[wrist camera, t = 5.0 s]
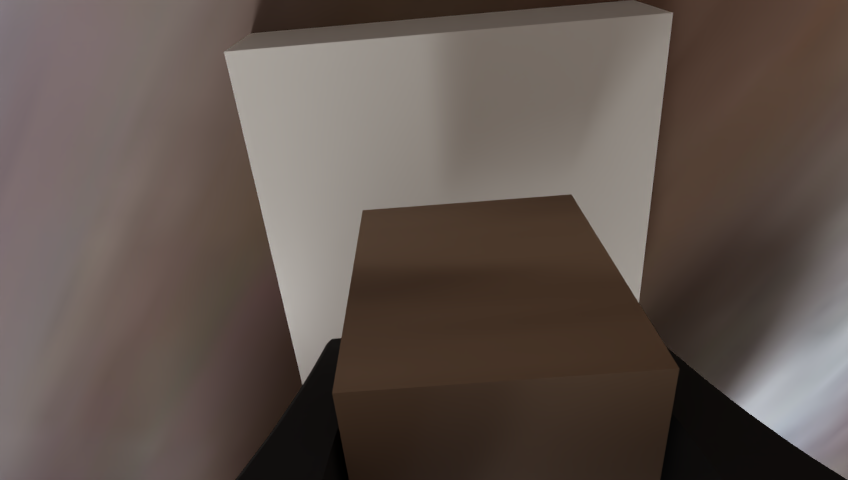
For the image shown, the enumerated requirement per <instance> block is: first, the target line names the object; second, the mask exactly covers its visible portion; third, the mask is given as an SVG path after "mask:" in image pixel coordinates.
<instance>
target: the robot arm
mask: <svg viewBox="0 0 848 480" xmlns="http://www.w3.org/2000/svg"><path fill="white" fill-rule="evenodd" d="M340 343H341V338H336V339H331V340H330V341H329V342H328V343H327V344H326V346H325V348H324V350H323V351H322V353H321V355H320V357H319V358H318V360H317V362H316V364H315V365H314V367H313V369H312V370H311V372H310V374H309V375H308V377H307V379H306V380H305V382H304V384H303V385H302V387H301V388H300V390H299V392H298V393H297V395H296V396H295V398H294V399H293V401H292V402H291V404H290V405H289V407H288V408H287V410H286V411H285V413H284V414H283V416H282V417H281V419H280V420H279V422H278V423H277V425H276V426H275V428H274V429H273V431H272V432H271V433H270V435H269V436H268V438H267V439H266V440H265V442H264V443H263V444H262V445H261V447H260V448H259V449H258V451H257V452H256V453H255V455H254V456H253V457H252V459H251V460H250V461H249V463H248V464H247V465H246V467H245V468H244V469H243V471H242V472H241V473H240V475H239V476H238V477H237V478H236V480H349V477H348V472H347V467H346V462H345V457H344V452H343V446H342V441H341V436H340V431H339V426H338V421H337V416H336V410H335V405H334V400H333V395H332V391H333V385H334V379H335V373H336V367H337V361H338V355H339V349H340ZM666 348H667V347H666ZM667 349H668V348H667ZM668 351H669V353H670V354H671V356H672V357H673V359H674V361H675V362H676V364H677V365H678V367H679V374H678V379H677V385H676V391H675V397H674V403H673V408H672V414H671V420H670V426H669V432H668V437H667V443H666V449H665V455H664V461H663V467H662V472H661V478H660V480H847V479H845V478H844V477H842V476H840V475H839V474H837V473H836V472H834V471H832V470H831V469H829V468H828V467H826V466H825V465H823V464H821V463H820V462H818V461H817V460H815V459H813V458H812V457H810V456H809V455H807V454H806V453H804V452H803V451H801V450H800V449H798V448H797V447H795V446H794V445H792V444H791V443H790V442H788V441H787V440H785V439H784V438H782V437H781V436H780V435H778V434H777V433H776V432H774V431H773V430H771V429H770V428H769V427H767V426H766V425H764V424H763V423H762V422H760V421H759V420H757V419H756V418H755V417H753V416H752V415H750V414H749V413H748V412H746V411H745V410H744V409H743V408H741V407H740V406H739V405H737V404H736V403H735V402H733V401H732V400H731V399H729V398H728V397H727V396H726V395H724V394H723V393H722V392H720V391H719V390H718V389H717V388H715V387H714V386H713V385H712V384H710V383H709V382H708V381H707V380H705V379H704V378H703V377H702V376H700V375H699V374H698V373H697V372H696V371H694V370H693V369H692V368H691V367H689V366H688V365H687V364H686V363H685V362H684V361H682V360H681V359H680V358H679V357H678V356H676V355H675V354H674V353H673V352H672V351H670V350H669V349H668Z"/></svg>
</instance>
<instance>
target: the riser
mask: <svg viewBox="0 0 848 480" xmlns="http://www.w3.org/2000/svg"><path fill="white" fill-rule="evenodd" d="M672 18H673V13H672V12H669V11H666V10H663V9H660V8H657V7H654V6H651V5H648V4H645V3H641V2H638V1H635V0H627V1H616V2H604V3H593V4H581V5H570V6H558V7H547V8H535V9H524V10H512V11H501V12H489V13H478V14H466V15H455V16H443V17H432V18H420V19H409V20H397V21H386V22H374V23H363V24H351V25H340V26H329V27H317V28H306V29H294V30H283V31H271V32H260V33H251V34H249V35H248V36H246V37H245V38H243V39H242V40H240V41H239V42H238V43H236V44H235V45H233V46H232V47H230V48H229V49H227V50H226V51H224V54H225V58H226V62H227V67H228V71H229V75H230V79H231V84H232V88H233V92H234V96H235V101H236V105H237V109H238V113H239V118H240V122H241V126H242V130H243V135H244V139H245V143H246V147H247V152H248V156H249V160H250V164H251V169H252V173H253V177H254V182H255V186H256V190H257V194H258V199H259V203H260V207H261V211H262V216H263V220H264V224H265V228H266V233H267V237H268V241H269V245H270V250H271V254H272V258H273V262H274V267H275V271H276V275H277V279H278V284H279V288H280V292H281V296H282V301H283V305H284V309H285V313H286V318H287V322H288V326H289V330H290V335H291V339H292V343H293V347H294V352H295V356H296V360H297V364H298V369H299V373H300V377H301V381H302V385H303V384H304V382H305V380H306V379H307V377H308V375H309V374H310V372H311V370H312V369H313V367H314V365H315V364H316V362H317V360H318V358H319V357H320V355H321V353H322V351H323V350H324V348H325V346H326V344H327V343H328V342H329V341H330V340H331V339H336V338H341V337H342V331H343V325H344V319H345V313H346V307H347V301H348V295H349V289H350V283H351V277H352V271H353V265H354V259H355V253H356V247H357V241H358V235H359V229H360V223H361V217H362V211H363V210H373V209H386V208H399V207H412V206H425V205H438V204H451V203H465V202H478V201H491V200H504V199H517V198H530V197H543V196H557V195H570V194H572V196H573V198H574V199H575V201H576V203H577V204H578V206H579V207H580V209H581V211H582V212H583V214H584V215H585V217H586V219H587V220H588V222H589V223H590V225H591V227H592V228H593V230H594V232H595V233H596V235H597V236H598V238H599V240H600V241H601V243H602V244H603V246H604V248H605V249H606V251H607V253H608V254H609V256H610V257H611V259H612V261H613V262H614V264H615V265H616V267H617V269H618V270H619V272H620V273H621V275H622V277H623V278H624V280H625V282H626V283H627V285H628V286H629V288H630V290H631V291H632V293H633V294H634V296H635V298H636V299H637V301H638V303H639V298H640V289H641V281H642V272H643V264H644V255H645V247H646V238H647V230H648V221H649V213H650V204H651V196H652V187H653V179H654V170H655V162H656V153H657V145H658V137H659V128H660V120H661V111H662V103H663V94H664V86H665V77H666V69H667V60H668V52H669V43H670V35H671V26H672Z"/></svg>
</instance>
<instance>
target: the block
mask: <svg viewBox="0 0 848 480" xmlns="http://www.w3.org/2000/svg"><path fill="white" fill-rule="evenodd" d="M678 374H679V367H678V365H677V364H676V362H675V361H674V359H673V357H672V356H671V354H670V353H669V351H668V349H667V348H666V346H665V344H664V343H663V341H662V340H661V338H660V336H659V335H658V333H657V332H656V330H655V328H654V327H653V325H652V323H651V322H650V320H649V319H648V317H647V315H646V314H645V312H644V311H643V309H642V307H641V306H640V304H639V303H638V301H637V299H636V298H635V296H634V294H633V293H632V291H631V290H630V288H629V286H628V285H627V283H626V282H625V280H624V278H623V277H622V275H621V273H620V272H619V270H618V269H617V267H616V265H615V264H614V262H613V261H612V259H611V257H610V256H609V254H608V253H607V251H606V249H605V248H604V246H603V244H602V243H601V241H600V240H599V238H598V236H597V235H596V233H595V232H594V230H593V228H592V227H591V225H590V223H589V222H588V220H587V219H586V217H585V215H584V214H583V212H582V211H581V209H580V207H579V206H578V204H577V203H576V201H575V199H574V198H573V196H572V194H570V195H557V196H543V197H530V198H517V199H504V200H491V201H478V202H465V203H451V204H438V205H425V206H412V207H399V208H386V209H373V210H363V211H362V217H361V223H360V229H359V235H358V241H357V247H356V253H355V259H354V265H353V271H352V277H351V283H350V289H349V295H348V301H347V307H346V313H345V319H344V325H343V331H342V337H341V343H340V349H339V355H338V361H337V367H336V373H335V379H334V385H333V391H332V395H333V400H334V405H335V410H336V416H337V421H338V426H339V431H340V436H341V441H342V446H343V452H344V457H345V462H346V467H347V472H348V477H349V480H660V478H661V472H662V467H663V461H664V455H665V449H666V443H667V437H668V432H669V426H670V420H671V414H672V408H673V403H674V397H675V391H676V385H677V379H678Z"/></svg>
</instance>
